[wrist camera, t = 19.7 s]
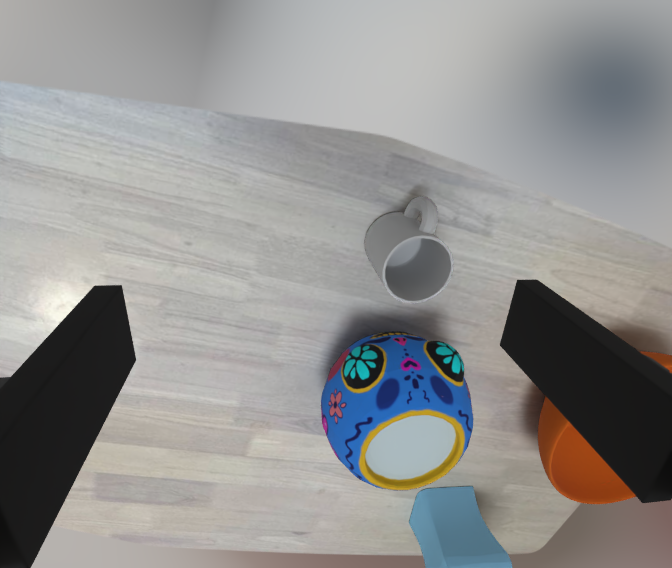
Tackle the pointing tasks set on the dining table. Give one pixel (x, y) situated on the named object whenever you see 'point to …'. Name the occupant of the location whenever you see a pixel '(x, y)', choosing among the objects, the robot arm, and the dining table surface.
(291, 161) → the dining table surface
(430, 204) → the cup
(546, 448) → the bowl
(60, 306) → the dining table surface
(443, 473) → the ceramic pot
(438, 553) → the vase
